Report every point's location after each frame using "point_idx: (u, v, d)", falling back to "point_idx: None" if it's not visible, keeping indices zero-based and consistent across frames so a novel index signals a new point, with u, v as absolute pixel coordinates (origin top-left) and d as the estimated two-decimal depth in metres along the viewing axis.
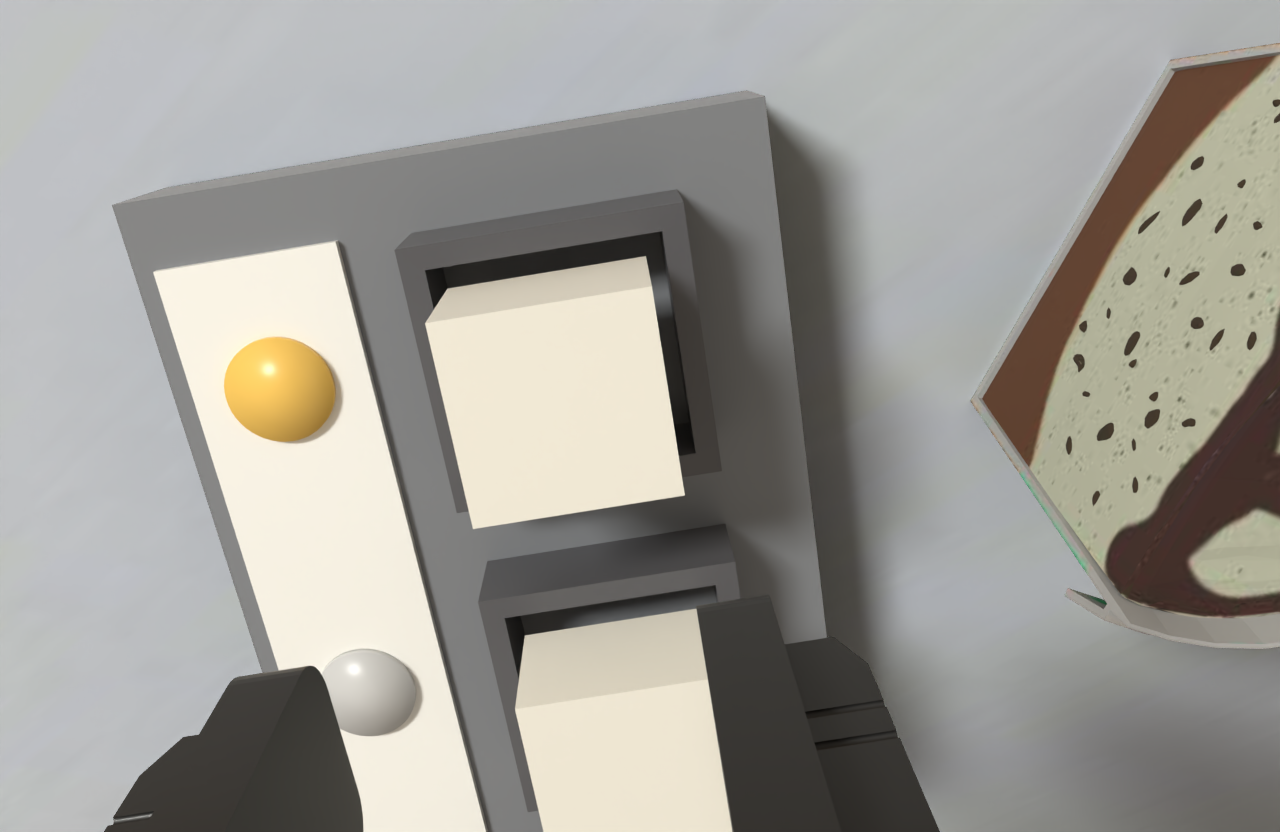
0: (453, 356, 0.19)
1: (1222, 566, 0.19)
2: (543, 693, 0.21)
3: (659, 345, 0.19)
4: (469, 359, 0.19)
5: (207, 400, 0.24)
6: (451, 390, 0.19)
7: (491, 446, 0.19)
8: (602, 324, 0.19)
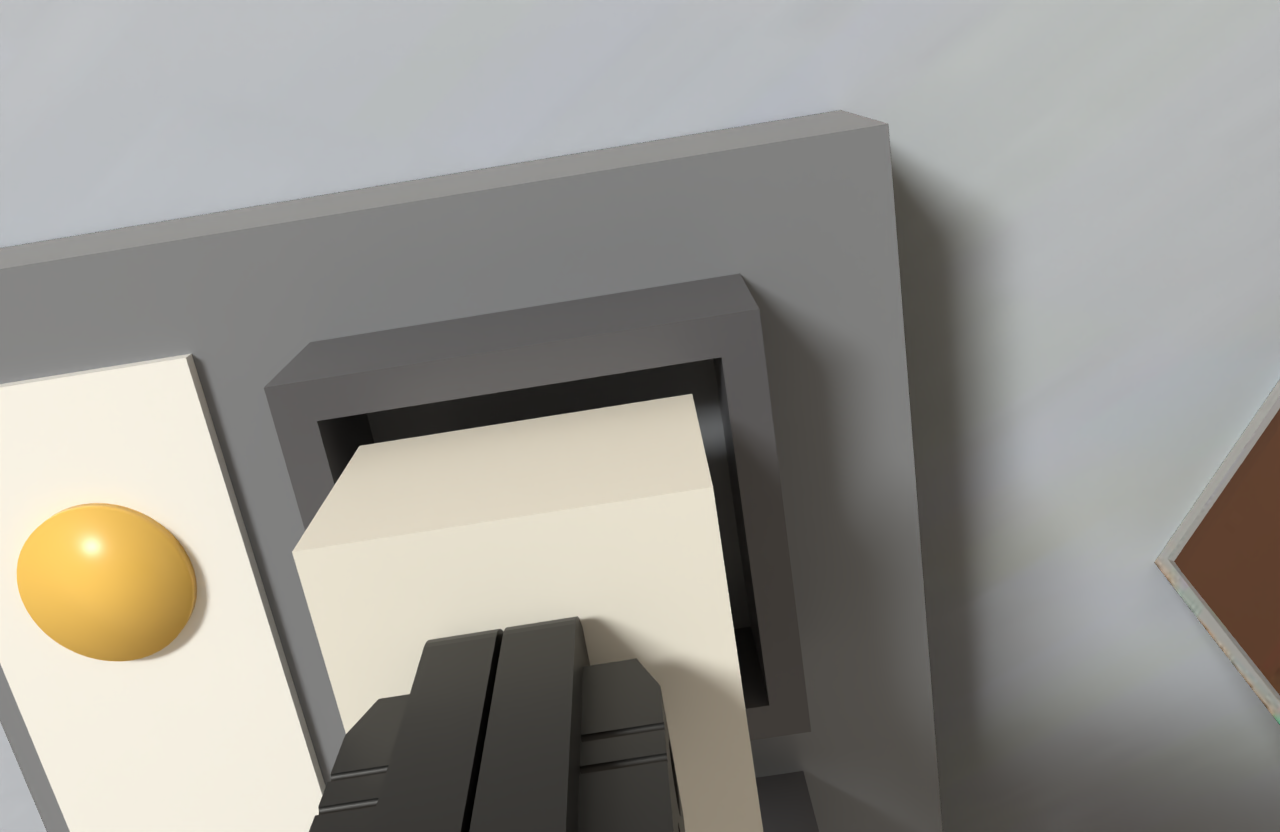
0: (346, 608, 0.10)
1: None
2: None
3: (724, 588, 0.10)
4: (378, 613, 0.10)
5: None
6: (345, 664, 0.10)
7: None
8: (621, 553, 0.10)
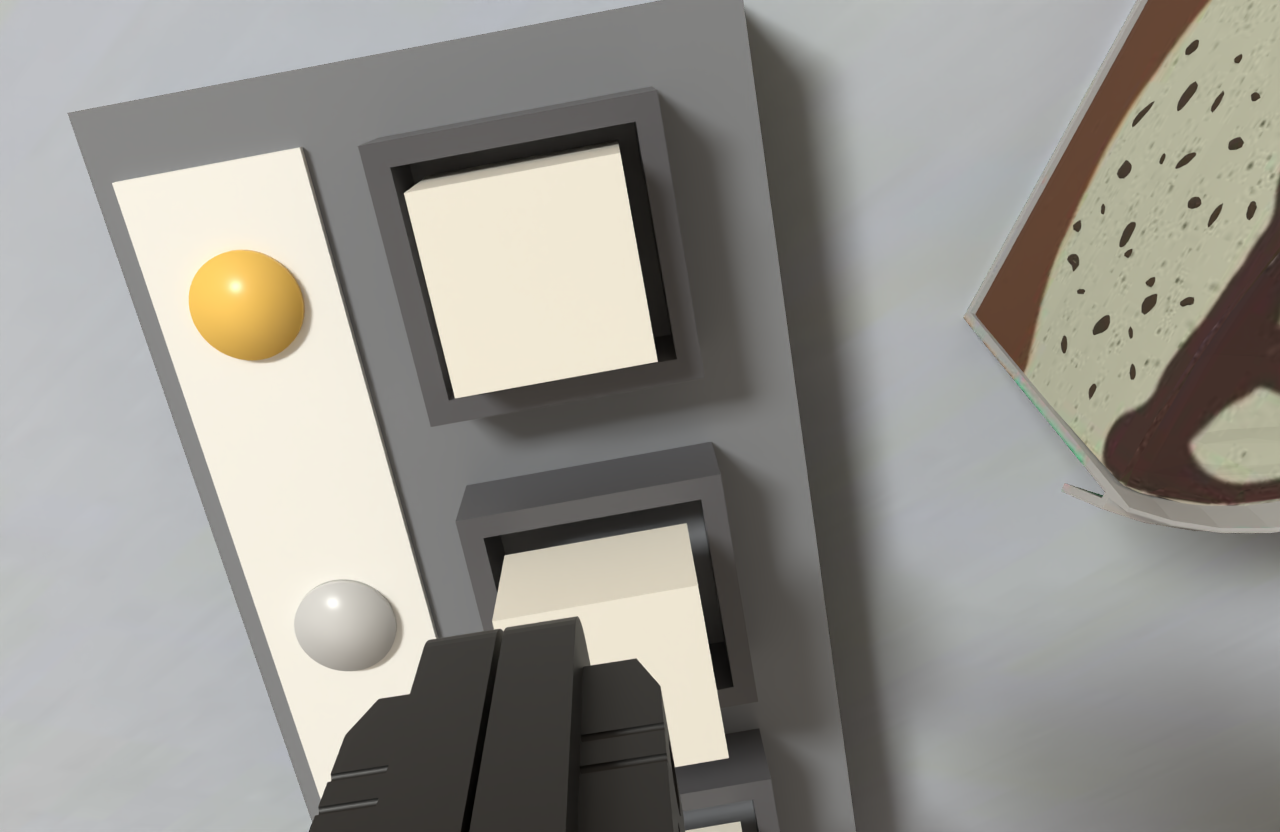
0: (431, 225, 0.20)
1: (1225, 450, 0.18)
2: (521, 606, 0.21)
3: (629, 212, 0.20)
4: (448, 229, 0.20)
5: (172, 318, 0.23)
6: (430, 259, 0.20)
7: (470, 316, 0.20)
8: (574, 191, 0.19)
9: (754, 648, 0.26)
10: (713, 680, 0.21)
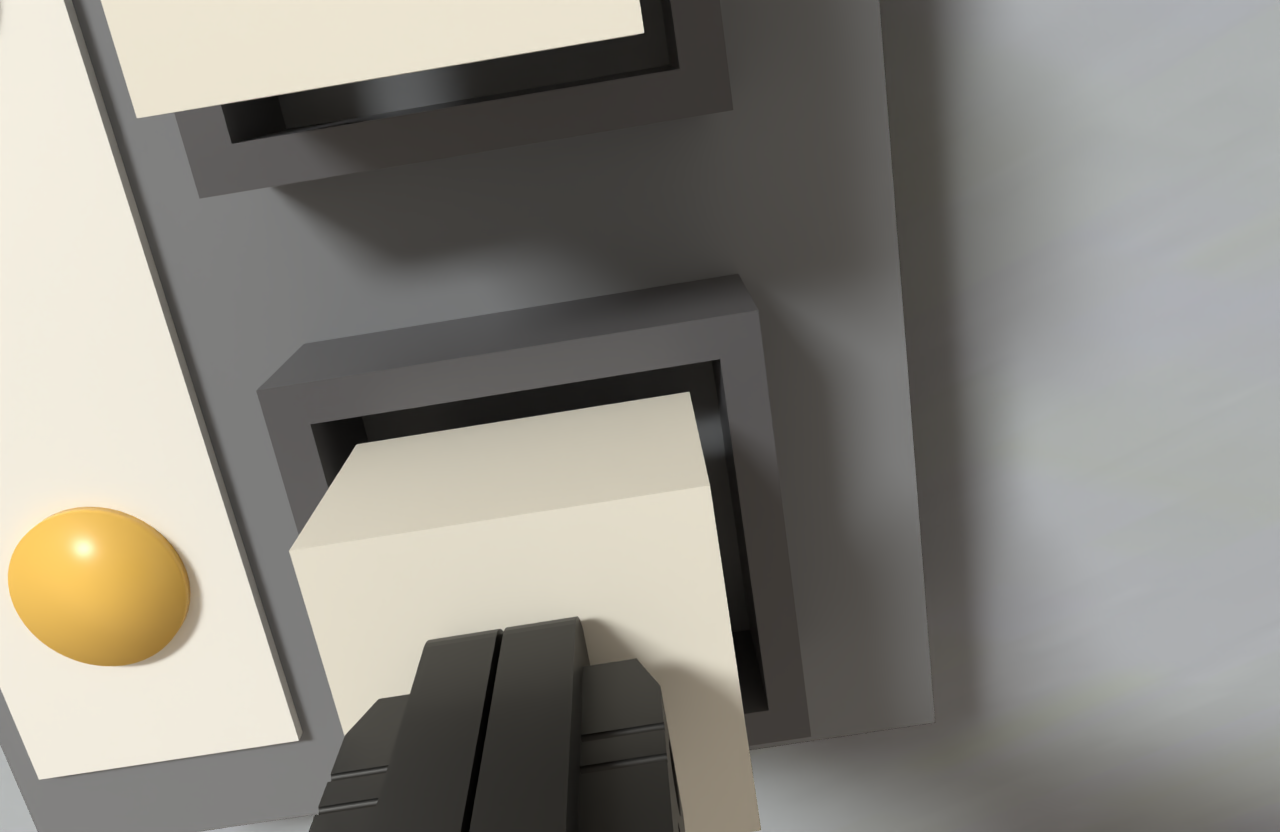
0: None
1: None
2: None
3: None
4: None
5: None
6: None
7: None
8: None
9: (731, 84, 0.13)
10: None
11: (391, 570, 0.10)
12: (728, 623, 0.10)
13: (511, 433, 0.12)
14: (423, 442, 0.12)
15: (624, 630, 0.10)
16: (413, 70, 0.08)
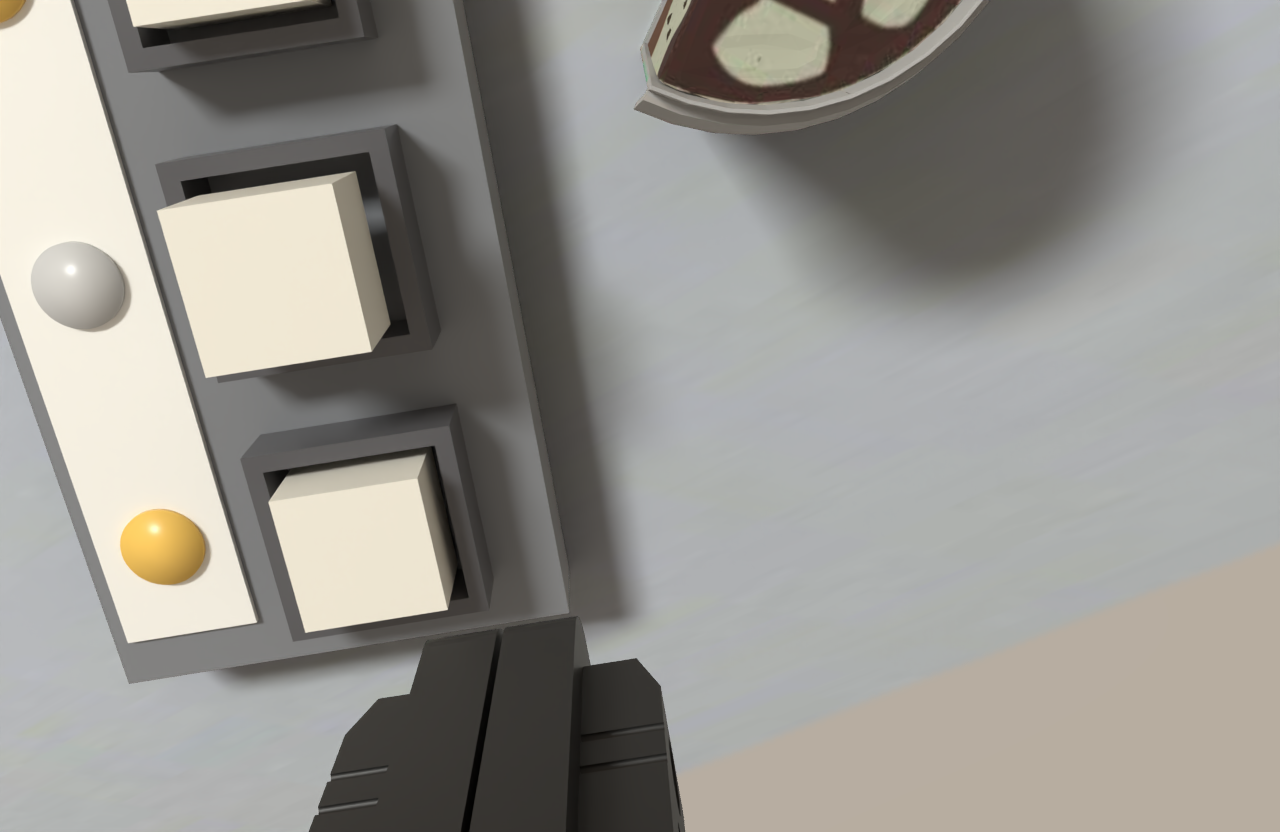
0: None
1: (743, 54, 0.23)
2: (187, 204, 0.24)
3: None
4: None
5: None
6: None
7: None
8: None
9: (447, 325, 0.30)
10: (352, 275, 0.25)
11: (305, 509, 0.28)
12: (428, 528, 0.29)
13: (356, 459, 0.30)
14: (321, 463, 0.31)
15: (390, 531, 0.29)
16: (296, 363, 0.25)
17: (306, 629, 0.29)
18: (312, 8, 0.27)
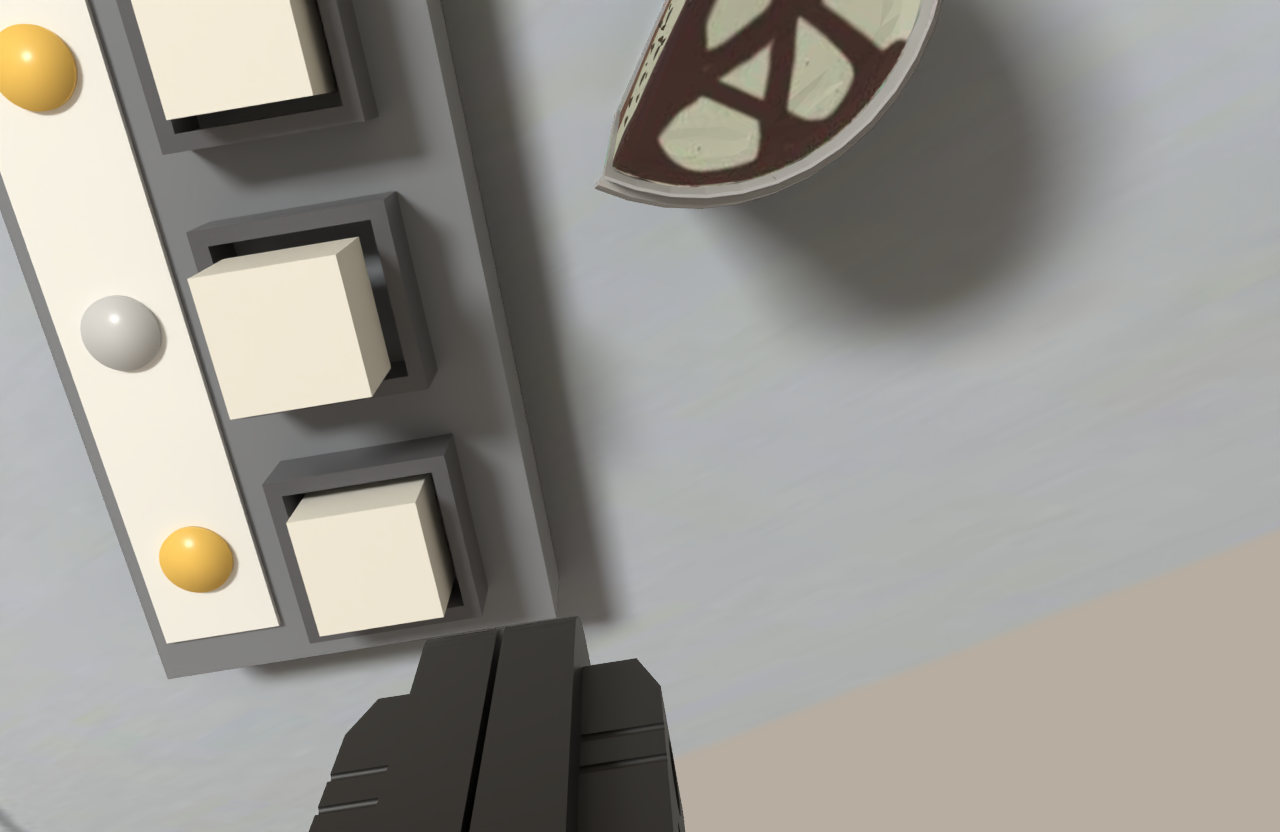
0: None
1: (684, 144, 0.26)
2: (212, 272, 0.28)
3: None
4: None
5: None
6: (141, 11, 0.27)
7: (173, 55, 0.28)
8: None
9: (443, 364, 0.34)
10: (354, 332, 0.29)
11: (318, 529, 0.32)
12: (425, 546, 0.33)
13: (363, 484, 0.34)
14: None
15: (392, 548, 0.33)
16: (307, 406, 0.29)
17: (320, 633, 0.34)
18: None
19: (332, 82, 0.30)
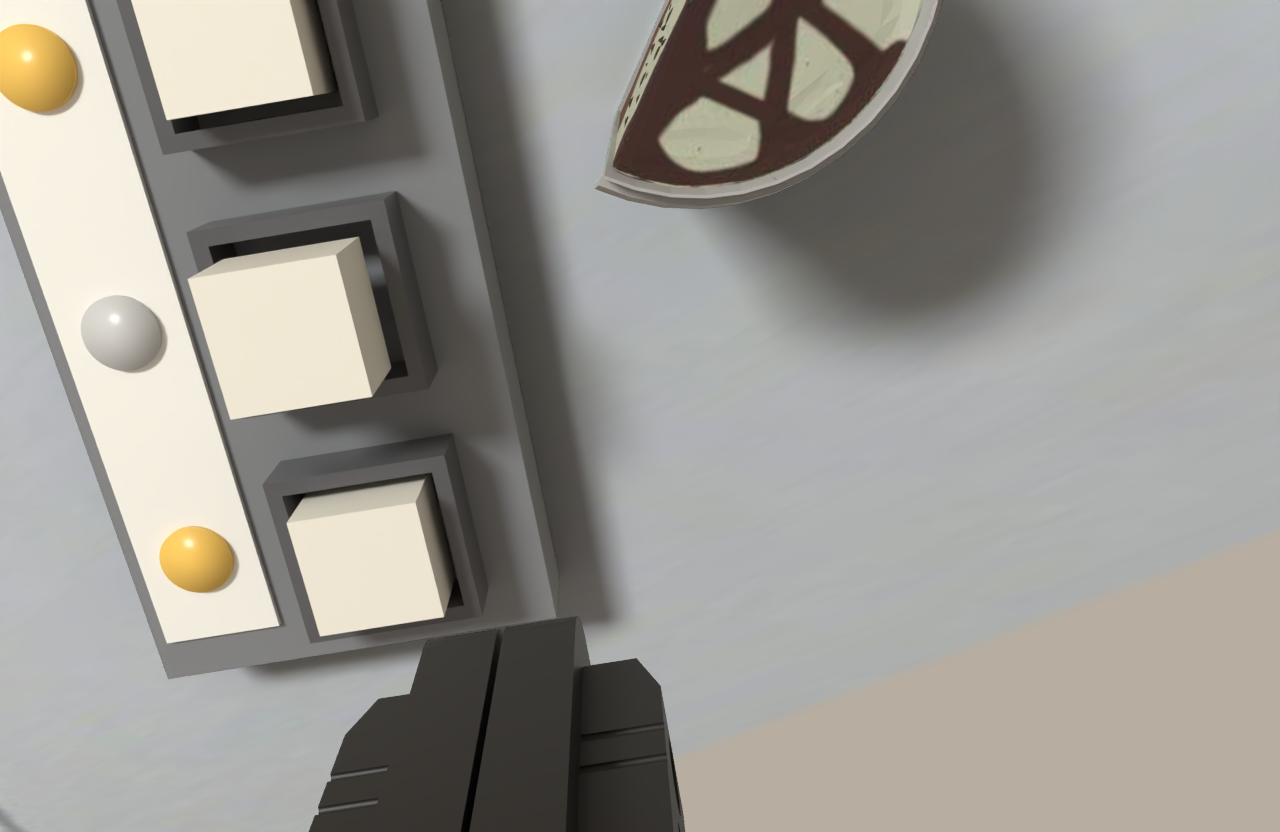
0: None
1: (685, 145, 0.26)
2: (213, 272, 0.28)
3: None
4: None
5: None
6: (142, 11, 0.28)
7: (173, 55, 0.28)
8: None
9: (443, 364, 0.34)
10: (354, 332, 0.29)
11: (318, 529, 0.32)
12: (426, 546, 0.33)
13: (364, 483, 0.34)
14: None
15: (392, 548, 0.33)
16: (308, 406, 0.29)
17: (320, 633, 0.34)
18: None
19: (332, 82, 0.31)
